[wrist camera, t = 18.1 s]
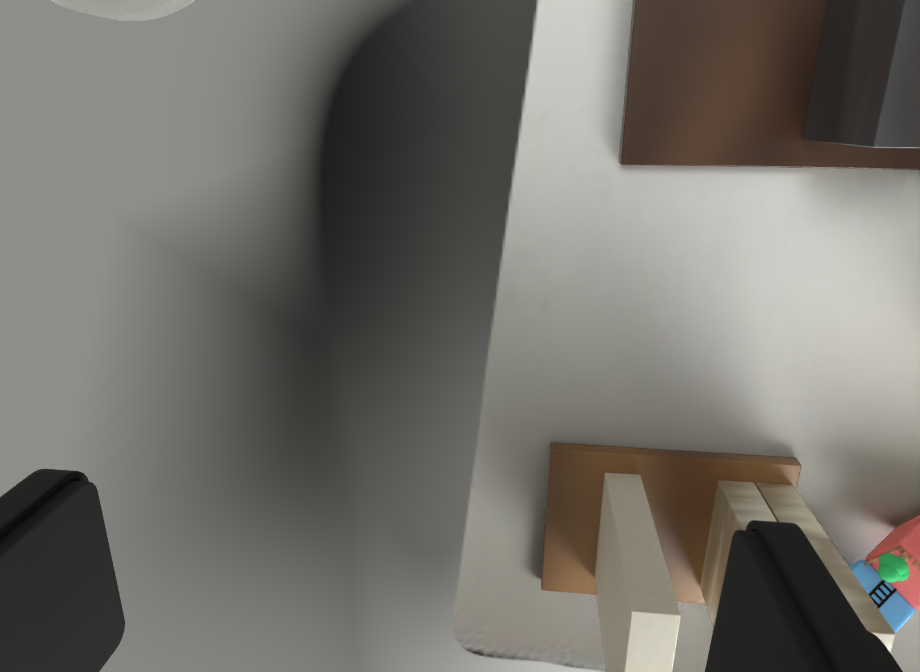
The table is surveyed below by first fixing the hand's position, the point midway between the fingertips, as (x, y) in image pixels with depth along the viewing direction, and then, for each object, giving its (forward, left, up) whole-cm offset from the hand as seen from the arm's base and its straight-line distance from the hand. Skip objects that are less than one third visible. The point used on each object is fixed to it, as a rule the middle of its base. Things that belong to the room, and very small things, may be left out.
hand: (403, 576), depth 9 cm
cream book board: (+12, -21, -33) cm, 41 cm away
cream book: (+9, -21, -32) cm, 39 cm away
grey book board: (+16, +10, -33) cm, 38 cm away
